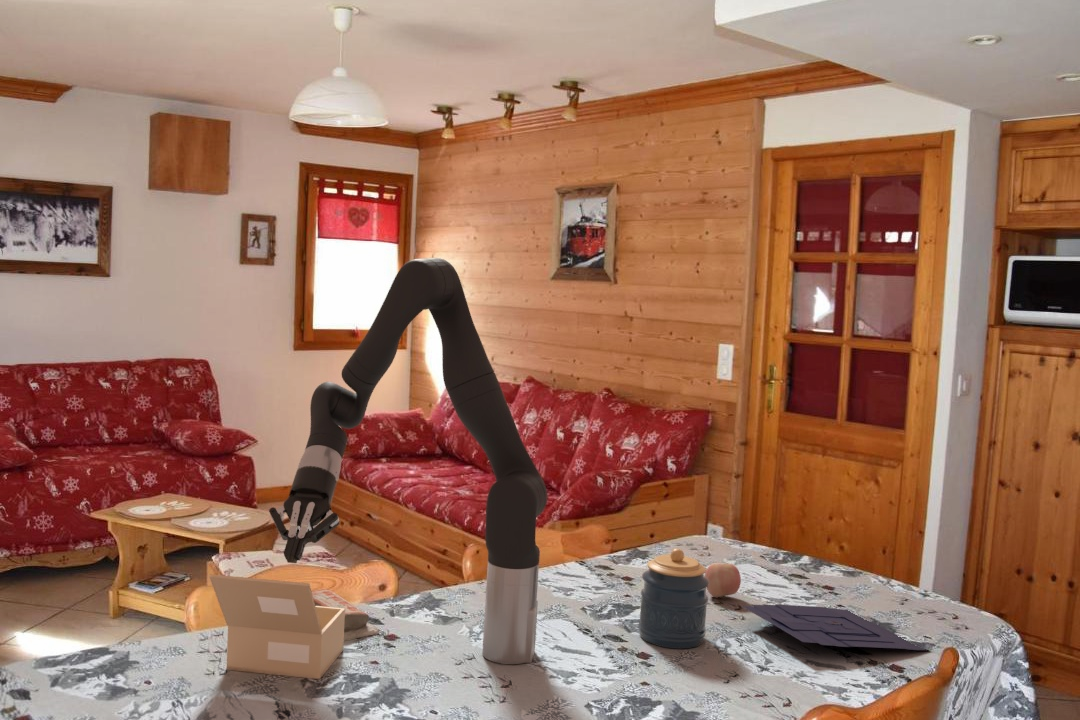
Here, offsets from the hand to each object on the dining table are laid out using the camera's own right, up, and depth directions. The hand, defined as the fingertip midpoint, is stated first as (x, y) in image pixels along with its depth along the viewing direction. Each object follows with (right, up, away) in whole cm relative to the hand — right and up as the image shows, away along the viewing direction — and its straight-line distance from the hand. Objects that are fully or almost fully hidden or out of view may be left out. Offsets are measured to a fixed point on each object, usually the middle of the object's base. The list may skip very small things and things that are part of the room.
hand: (291, 560), depth 167 cm
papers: (+101, -22, +30) cm, 108 cm away
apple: (+83, -19, +50) cm, 99 cm away
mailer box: (-1, -17, +1) cm, 17 cm away
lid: (-1, -5, -10) cm, 11 cm away
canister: (+68, -20, +24) cm, 75 cm away
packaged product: (+3, -17, +20) cm, 26 cm away
